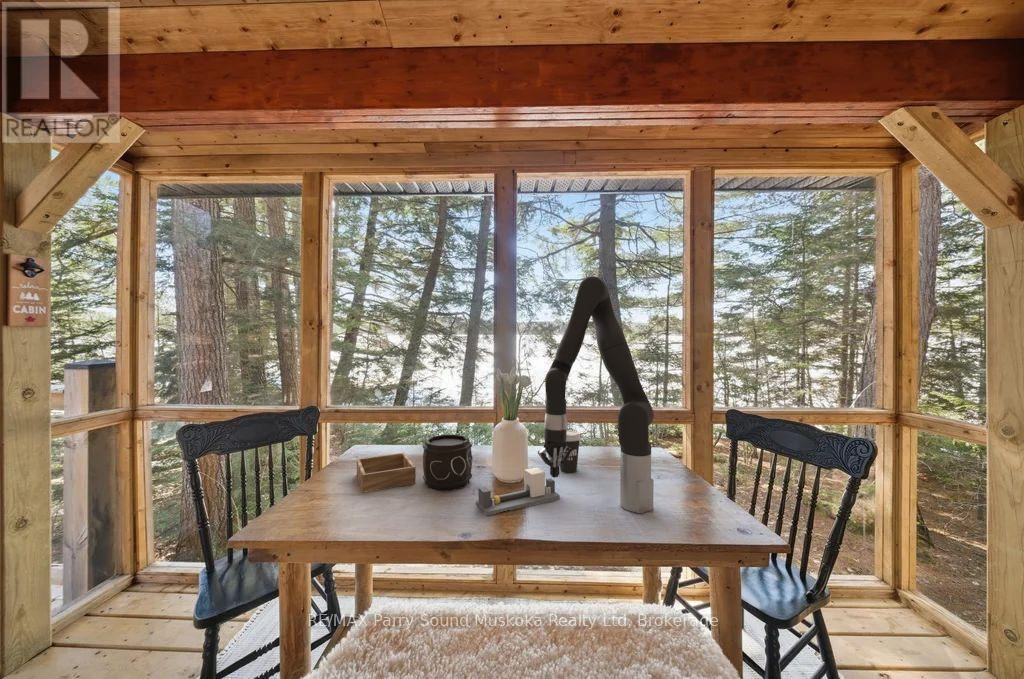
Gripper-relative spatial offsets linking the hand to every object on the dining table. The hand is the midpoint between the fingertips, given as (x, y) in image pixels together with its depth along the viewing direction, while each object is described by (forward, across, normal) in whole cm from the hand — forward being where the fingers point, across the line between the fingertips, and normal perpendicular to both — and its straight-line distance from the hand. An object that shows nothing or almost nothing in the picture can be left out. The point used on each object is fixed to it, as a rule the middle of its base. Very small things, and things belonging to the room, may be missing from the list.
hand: (554, 476), depth 135 cm
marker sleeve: (+4, -8, -1) cm, 9 cm away
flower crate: (+6, -50, +39) cm, 63 cm away
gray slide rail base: (+6, -14, -1) cm, 15 cm away
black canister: (+6, -30, +25) cm, 39 cm away
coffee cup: (+6, +16, +16) cm, 23 cm away
